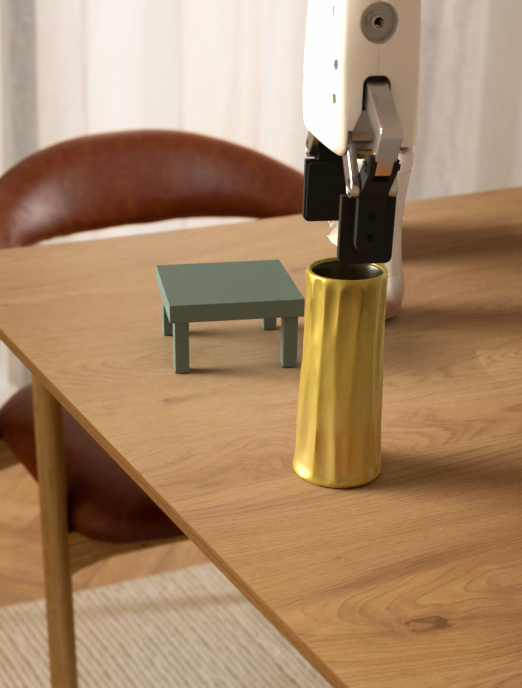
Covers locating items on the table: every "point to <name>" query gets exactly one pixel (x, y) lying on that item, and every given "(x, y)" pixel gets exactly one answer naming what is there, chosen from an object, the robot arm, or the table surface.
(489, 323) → the table surface
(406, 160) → the silver water bottle
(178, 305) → the stool
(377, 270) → the vase
